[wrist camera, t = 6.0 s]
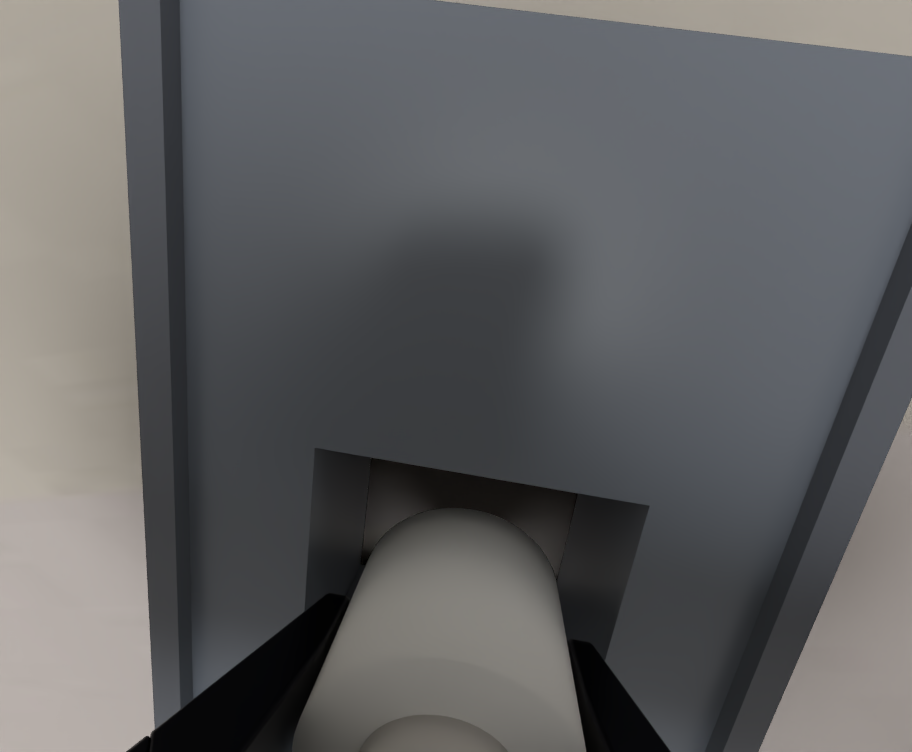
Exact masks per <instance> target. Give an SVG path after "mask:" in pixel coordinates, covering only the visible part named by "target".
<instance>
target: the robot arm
mask: <svg viewBox="0 0 912 752" xmlns="http://www.w3.org/2000/svg"><path fill="white" fill-rule="evenodd" d="M349 603H350V599H349V597H348V596H346V595H341V594H336V593H328V594H326V595H324V596H323V597H322V598H321V599H319V600H318V601H317V602H315V603H314V604H313V605H312V606H310V607H309V608H308V609H307V610H305V611H304V612H303V613H302V614H300V615H299V616H298V617H296V618H295V619H294V620H293V621H291V622H290V623H289V624H288V625H286V626H285V627H284V628H283V629H281V630H280V631H279V632H278V633H276V634H275V635H274V636H272V637H271V638H270V639H269V640H267V641H266V642H265V643H264V644H262V645H261V646H260V647H259V648H257V649H256V650H255V651H253V652H252V653H251V654H250V655H248V656H247V657H246V658H245V659H243V660H242V661H241V662H240V663H238V664H237V665H236V666H234V667H233V668H232V669H231V670H229V671H228V672H227V673H226V674H224V675H223V676H222V677H221V678H219V679H218V680H217V681H216V682H214V683H213V684H212V685H210V686H209V687H208V688H207V689H205V690H204V691H203V692H202V693H200V694H199V695H198V696H197V697H195V698H194V699H193V700H191V701H190V702H189V703H188V704H186V705H185V706H184V707H183V708H181V709H180V710H179V711H178V712H176V713H175V714H174V715H173V716H171V717H170V718H169V719H167V720H166V721H165V722H164V723H162V724H161V725H160V726H159V727H157V728H156V729H155V730H154V731H152V733H151V736H150V737H149V736H146V737H144V738H143V739H142V740H141V741H139V742H138V743H137V744H135V745H134V746H133V747H132V748H130V749H129V750H128V751H127V752H292V745H293V739H294V733H295V730H296V727H297V725H298V722H299V719H300V717H301V714H302V712H303V710H304V708H305V705H306V703H307V701H308V698H309V696H310V694H311V691H312V689H313V687H314V684H315V682H316V680H317V677H318V675H319V673H320V670H321V668H322V666H323V663H324V661H325V659H326V656H327V654H328V652H329V650H330V647H331V645H332V643H333V640H334V638H335V636H336V633H337V631H338V629H339V626H340V624H341V622H342V619H343V617H344V615H345V612H346V610H347V608H348V605H349ZM567 645H568V650H569V656H570V662H571V667H572V673H573V679H574V684H575V690H576V696H577V701H578V707H579V713H580V718H581V724H582V730H583V735H584V741H585V747H586V752H671V751H670V750H669V748H668V747H667V746H666V744H665V743H664V741H663V740H662V739H661V737H660V736H659V735H658V733H657V732H656V731H655V729H654V728H653V726H652V725H651V724H650V722H649V721H648V720H647V718H646V717H645V715H644V714H643V713H642V711H641V710H640V709H639V707H638V706H637V704H636V703H635V702H634V700H633V699H632V698H631V696H630V695H629V693H628V692H627V691H626V689H625V688H624V687H623V685H622V684H621V682H620V681H619V680H618V678H617V677H616V676H615V674H614V673H613V671H612V670H611V669H610V667H609V666H608V665H607V663H606V662H605V660H604V659H603V658H602V656H601V655H600V654H599V652H598V651H597V649H596V648H595V647H594V646H593V644H591V643H590V642H587V641H582V640H577V639H569V640H568V641H567Z"/></svg>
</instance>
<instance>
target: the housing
mask: <svg viewBox="0 0 912 752" xmlns="http://www.w3.org/2000/svg"><path fill="white" fill-rule="evenodd" d="M119 18H120V38H121V58H122V78H123V98H124V118H125V138H126V159H127V179H128V199H129V219H130V239H131V259H132V279H133V299H134V319H135V339H136V359H137V380H138V400H139V420H140V440H141V460H142V480H143V500H144V520H145V540H146V560H147V580H148V601H149V621H150V641H151V661H152V681H153V701H154V721H155V729H156V728H157V727H159V726H160V725H161V724H162V723H164V722H165V721H166V720H167V719H169V718H170V717H171V716H173V715H174V714H175V713H176V712H178V711H179V710H180V709H181V708H183V707H184V706H185V705H186V704H188V703H189V702H190V701H191V700H193V699H194V698H195V697H197V696H198V695H199V694H200V693H202V692H203V691H204V690H205V689H207V688H208V687H209V686H210V685H212V684H213V683H214V682H216V681H217V680H218V679H219V678H221V677H222V676H223V675H224V674H226V673H227V672H228V671H229V670H231V669H232V668H233V667H234V666H236V665H237V664H238V663H240V662H241V661H242V660H243V659H245V658H246V657H247V656H248V655H250V654H251V653H252V652H253V651H255V650H256V649H257V648H259V647H260V646H261V645H262V644H264V643H265V642H266V641H267V640H269V639H270V638H271V637H272V636H274V635H275V634H276V633H278V632H279V631H280V630H281V629H283V628H284V627H285V626H286V625H288V624H289V623H290V622H291V621H293V620H294V619H295V618H296V617H298V616H299V615H300V614H302V613H303V612H304V611H305V610H307V609H308V608H309V607H310V606H312V605H313V604H314V603H315V602H317V601H318V600H319V599H321V598H322V597H323V596H324V595H326V594H328V593H336V594H341V595H346V596H348V597H349V599H350V601H351V598H352V596H353V594H354V592H355V589H356V587H357V585H358V582H359V580H360V578H361V575H362V573H363V571H364V568H365V566H366V565H361V555H362V545H363V535H364V525H365V515H366V505H367V495H368V485H369V474H370V464H371V458H377V459H383V460H388V461H394V462H400V463H406V464H411V465H417V466H423V467H429V468H435V469H440V470H446V471H452V472H458V473H463V474H469V475H475V476H481V477H487V478H492V479H498V480H504V481H510V482H515V483H521V484H527V485H533V486H539V487H544V488H550V489H556V490H562V491H567V492H573V493H578V495H577V500H576V504H575V508H574V512H573V516H572V520H571V525H570V529H569V533H568V537H567V541H566V546H565V550H564V554H563V558H562V562H561V566H560V571H559V575H558V579H557V588H558V594H559V599H560V605H561V611H562V616H563V622H564V628H565V633H566V639H567V641H568V640H569V639H577V640H582V641H587V642H590V643H591V644H593V646H594V647H595V648H596V649H597V651H598V652H599V654H600V655H601V656H602V658H603V659H604V660H605V662H606V663H607V665H608V666H609V667H610V669H611V670H612V671H613V673H614V674H615V676H616V677H617V678H618V680H619V681H620V682H621V684H622V685H623V687H624V688H625V689H626V691H627V692H628V693H629V695H630V696H631V698H632V699H633V700H634V702H635V703H636V704H637V706H638V707H639V709H640V710H641V711H642V713H643V714H644V715H645V717H646V718H647V720H648V721H649V722H650V724H651V725H652V726H653V728H654V729H655V731H656V732H657V733H658V735H659V736H660V737H661V739H662V740H663V741H664V743H665V744H666V746H667V747H668V748H669V750H670V751H671V752H758V751H759V749H760V746H761V744H762V742H763V739H764V737H765V735H766V733H767V730H768V728H769V726H770V723H771V721H772V719H773V716H774V714H775V712H776V709H777V707H778V705H779V703H780V700H781V698H782V696H783V693H784V691H785V689H786V686H787V684H788V682H789V680H790V677H791V675H792V673H793V670H794V668H795V666H796V663H797V661H798V659H799V656H800V654H801V652H802V650H803V647H804V645H805V643H806V640H807V638H808V636H809V633H810V631H811V629H812V626H813V624H814V622H815V620H816V617H817V615H818V613H819V610H820V608H821V606H822V603H823V601H824V599H825V597H826V594H827V592H828V590H829V587H830V585H831V583H832V580H833V578H834V576H835V573H836V571H837V569H838V567H839V564H840V562H841V560H842V557H843V555H844V553H845V550H846V548H847V546H848V543H849V541H850V539H851V537H852V534H853V532H854V530H855V527H856V525H857V523H858V520H859V518H860V516H861V514H862V511H863V509H864V507H865V504H866V502H867V500H868V497H869V495H870V493H871V490H872V488H873V486H874V484H875V481H876V479H877V477H878V474H879V472H880V470H881V467H882V465H883V463H884V461H885V458H886V456H887V454H888V451H889V449H890V447H891V444H892V442H893V440H894V437H895V435H896V433H897V431H898V428H899V426H900V424H901V421H902V419H903V417H904V414H905V412H906V410H907V407H908V405H909V403H910V401H911V398H912V57H911V56H903V55H894V54H886V53H877V52H869V51H860V50H852V49H843V48H835V47H826V46H818V45H809V44H801V43H792V42H784V41H775V40H767V39H758V38H750V37H741V36H733V35H724V34H716V33H707V32H699V31H690V30H682V29H673V28H665V27H656V26H648V25H639V24H631V23H622V22H614V21H605V20H597V19H588V18H580V17H571V16H563V15H554V14H546V13H537V12H529V11H520V10H512V9H503V8H495V7H486V6H478V5H469V4H461V3H452V2H444V1H435V0H119Z"/></svg>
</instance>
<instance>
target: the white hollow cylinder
mask: <svg viewBox="0 0 912 752" xmlns="http://www.w3.org/2000/svg"><path fill="white" fill-rule="evenodd" d="M292 752H586V747H585V741H584V735H583V730H582V724H581V718H580V713H579V707H578V701H577V696H576V690H575V684H574V679H573V673H572V667H571V662H570V656H569V650H568V645H567V639H566V633H565V628H564V622H563V616H562V611H561V605H560V599H559V594H558V588H557V582H556V578H555V575H554V572H553V569H552V567H551V565H550V563H549V561H548V559H547V557H546V556H545V554H544V553H543V551H542V550H541V548H540V547H539V546H538V545H537V544H536V543H535V542H534V540H533V539H531V538H530V537H529V536H528V535H527V534H526V533H525V532H524V531H522V530H521V529H519V528H518V527H516V526H515V525H513V524H512V523H510V522H508V521H506V520H504V519H502V518H500V517H497V516H494V515H492V514H489V513H486V512H482V511H478V510H472V509H464V508H443V509H434V510H430V511H426V512H422V513H419V514H417V515H414V516H411V517H409V518H407V519H405V520H404V521H402V522H400V523H398V524H397V525H396V526H394V527H393V528H391V529H390V530H389V531H388V532H387V533H386V534H385V535H384V536H383V537H382V538H381V539H380V541H379V542H378V543H377V544H376V546H375V547H374V549H373V551H372V553H371V555H370V557H369V559H368V561H367V564H366V566H365V568H364V571H363V573H362V575H361V578H360V580H359V582H358V585H357V587H356V589H355V592H354V594H353V596H352V598H351V601H350V603H349V605H348V608H347V610H346V612H345V615H344V617H343V619H342V622H341V624H340V626H339V629H338V631H337V633H336V636H335V638H334V640H333V643H332V645H331V647H330V650H329V652H328V654H327V656H326V659H325V661H324V663H323V666H322V668H321V670H320V673H319V675H318V677H317V680H316V682H315V684H314V687H313V689H312V691H311V694H310V696H309V698H308V701H307V703H306V705H305V708H304V710H303V712H302V714H301V717H300V719H299V722H298V725H297V727H296V730H295V733H294V739H293V745H292Z"/></svg>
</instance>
